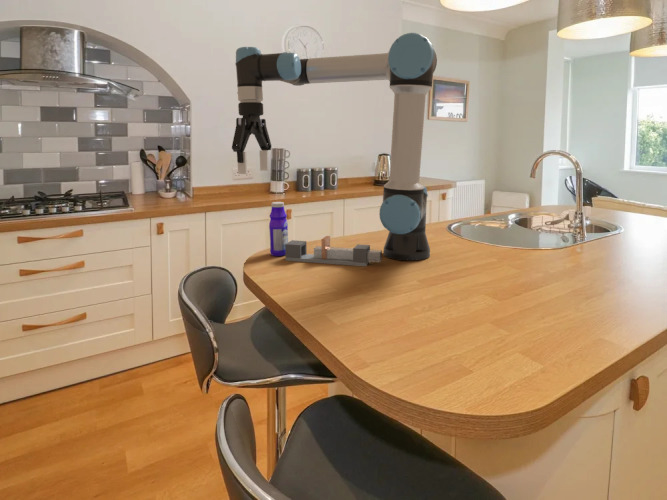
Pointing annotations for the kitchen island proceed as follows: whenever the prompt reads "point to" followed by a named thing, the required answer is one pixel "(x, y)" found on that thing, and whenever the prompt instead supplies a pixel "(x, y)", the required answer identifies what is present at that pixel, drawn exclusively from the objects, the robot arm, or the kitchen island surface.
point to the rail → (299, 253)
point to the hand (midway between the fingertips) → (254, 172)
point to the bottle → (278, 229)
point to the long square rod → (342, 252)
